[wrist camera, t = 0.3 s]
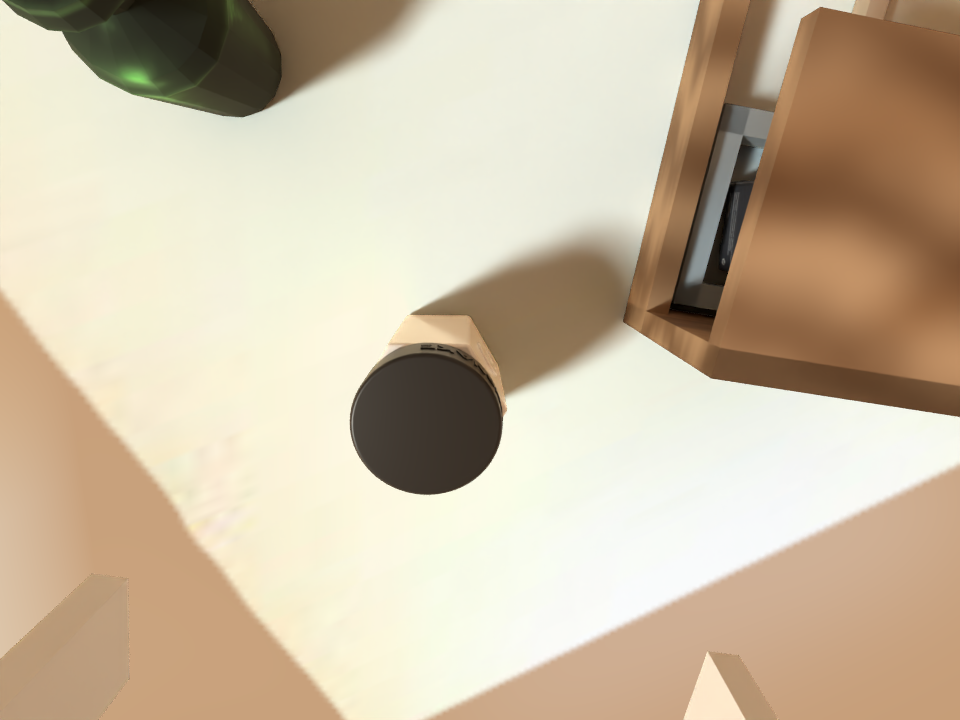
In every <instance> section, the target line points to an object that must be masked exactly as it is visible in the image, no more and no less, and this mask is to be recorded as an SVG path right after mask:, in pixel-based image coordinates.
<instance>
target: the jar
mask: <svg viewBox="0 0 960 720" xmlns="http://www.w3.org/2000/svg"><path fill="white" fill-rule="evenodd" d="M506 411H507V405H506V400H505V396H504V391H503V386H502V381H501V376H500V371H499V366H498V364H497V362H496V361H495V359H494V357H493V355H492V354H491V352H490V350H489V349H488V347H487V345H486V343H485V342H484V340H483V338H482V336H481V335H480V333H479V331H478V329H477V328H476V326H475V324H474V323H473V321H472V319H471V317H470V316H468V315H407V316H406V318H405V319H404V321H403V322H402V324H401V325H400V327H399V328H398V330H397V331H396V333H395V334H394V336H393V337H392V339H391V340H390V342H389V343H388V345H387V346H386V348H385V350H384V352H383V353H382V355H381V357H380V359H379V361H378V362H377V364H376V365H375V366H374V367H373V368H372V370H371V371H370V372H369V374H368V375H367V377H366V378H365V380H364V381H363V383H362V384H361V386H360V388H359V389H358V391H357V393H356V395H355V398H354V400H353V404H352V407H351V413H350V431H351V437H352V441H353V444H354V447H355V449H356V451H357V454H358V456H359V457H360V459H361V460H362V462H363V463H364V464H365V466H366V467H367V468H368V469H369V470H370V471H371V472H372V473H373V474H374V475H375V476H376V477H377V478H379V479H380V480H381V481H383V482H385V483H386V484H388V485H390V486H392V487H394V488H396V489H399V490H402V491H405V492H409V493H414V494H422V495H432V494H441V493H446V492H450V491H453V490H456V489H458V488H461V487H463V486H465V485H466V484H468V483H470V482H471V481H473V480H474V479H476V478H477V477H478V476H479V475H480V474H481V473H482V472H483V471H484V470H485V469H486V468H487V467H488V465H489V464H490V463H491V461H492V459H493V458H494V456H495V454H496V452H497V449H498V447H499V444H500V440H501V435H502V426H503V422H502V421H503V416H504V415H505V413H506Z"/></svg>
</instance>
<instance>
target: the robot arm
mask: <svg viewBox="0 0 960 720" xmlns="http://www.w3.org/2000/svg"><path fill="white" fill-rule="evenodd" d="M128 597H129V595H128V578H123V577H114V576H106V575H99V574H91V575H90V576H89V577H88V578H87V579H85V580H84V582H82V583H81V584H80V585H79V586H78V587H77V588H76V589H75V590H74V591H73V592H71V594H69V595H68V596H67V597H66V598H65V599H64V600H63V601H62V602H61V603H60V604H59V605H58V606H56V607H55V608H54V609H53V610H52V611H51V612H50V613H49V614H48V615H47V616H46V617H45V618H44V619H43V620H42V621H40V622H39V623H38V624H37V625H36V626H35V627H34V628H33V629H32V630H31V631H30V632H29V633H27V635H25V637H23V638H22V639H21V640H20V641H19V642H18V643H17V644H16V645H15V646H14V647H12V648H11V649H10V650H9V651H8V652H7V653H6V654H5V655H4V656H3V657H2V658H1V659H0V720H99V719H100V718H101V716H102V715H103V714H104V712H105V711H106V710H107V708H108V707H109V705H110V704H111V703H112V702H113V700H114V699H115V697H116V696H117V695H118V693H119V692H120V691H121V689H122V688H123V687H124V685H125V684H126V683H127V681H128V680H129V677H130V675H129V598H128ZM684 720H779V719H778V717H777V716H776V714H775V713H774V711H773V710H772V708H771V706H770V704H769V703H768V701H767V700H766V698H765V696H764V695H763V693H762V692H761V690H760V688H759V687H758V685H757V684H756V682H755V680H754V679H753V677H752V676H751V674H750V672H749V671H748V669H747V667H746V666H745V664H744V663H743V661H742V659H741V658H740V656H739V655H732V654H723V653H716V652H707V655H706V658H705V661H704V664H703V666H702V669H701V672H700V675H699V678H698V680H697V683H696V686H695V689H694V692H693V694H692V697H691V700H690V703H689V706H688V709H687V711H686V714H685V717H684Z"/></svg>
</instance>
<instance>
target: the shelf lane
mask: <svg viewBox="0 0 960 720" xmlns="http://www.w3.org/2000/svg"><path fill="white" fill-rule="evenodd" d="M749 4H750V0H700V3H699V7H698V11H697V16H696V20H695V24H694V28H693V32H692V36H691V41H690V45H689V49H688V53H687V57H686V61H685V66H684V70H683V74H682V78H681V82H680V86H679V91H678V95H677V99H676V103H675V107H674V111H673V116H672V120H671V124H670V128H669V132H668V136H667V140H666V145H665V149H664V153H663V157H662V161H661V165H660V170H659V174H658V178H657V182H656V186H655V190H654V195H653V199H652V203H651V207H650V211H649V215H648V220H647V224H646V228H645V232H644V236H643V240H642V245H641V249H640V253H639V257H638V261H637V265H636V270H635V274H634V278H633V282H632V286H631V290H630V295H629V299H628V303H627V307H626V311H625V315H624V320H623V322H624V323H626V324H627V325H629V326H631V327H632V328H634V329H635V330H637V331H638V332H640V333H641V334H643V335H645V336H646V337H648V338H649V339H651V340H652V341H654V342H655V343H657V344H658V345H660V346H662V347H663V348H665V349H666V350H668V351H669V352H671V353H672V354H674V355H676V356H677V357H679V358H680V359H682V360H683V361H685V362H686V363H688V364H690V365H691V366H693V367H694V368H696V369H697V370H699V371H700V372H702V373H704V374H705V375H707V376H708V377H710V378H712V379H719V380H725V381H731V382H738V383H744V384H751V385H757V386H764V387H770V388H777V389H783V390H790V391H796V392H803V393H809V394H815V395H822V396H828V397H835V398H841V399H848V400H854V401H861V402H867V403H874V404H880V405H886V406H893V407H899V408H906V409H912V410H919V411H925V412H932V413H938V414H945V415H951V416H958V417H960V35H955V34H950V33H945V32H940V31H935V30H930V29H926V28H921V27H916V26H911V25H906V24H901V23H896V22H891V21H887V20H882V19H877V18H872V17H867V16H862V15H857V14H852V13H847V12H843V11H838V10H833V9H828V8H823V7H820V8H818V9H816V10H815V11H813V12H811V13H810V14H808V15H807V16H805V17H803V18H802V19H801V21H800V25H799V28H798V32H797V35H796V39H795V42H794V46H793V49H792V53H791V56H790V59H789V63H788V66H787V70H786V73H785V77H784V80H783V84H782V87H781V91H780V94H779V98H778V101H777V105H776V108H775V112H774V115H773V119H772V122H771V126H770V129H769V133H768V136H767V140H766V143H765V146H764V150H763V153H762V157H761V160H760V164H759V167H758V171H757V174H756V178H755V181H754V185H753V188H752V192H751V195H750V199H749V202H748V206H747V209H746V213H745V216H744V220H743V223H742V226H741V230H740V233H739V237H738V240H737V244H736V247H735V251H734V254H733V258H732V261H731V265H730V268H729V272H728V275H727V279H726V282H725V286H724V289H723V293H722V296H721V300H720V303H719V307H718V310H717V313H716V316H712V315H706V314H699V313H693V312H687V311H681V310H675V309H670V305H671V301H672V297H673V294H674V290H675V286H676V282H677V278H678V275H679V271H680V267H681V263H682V259H683V256H684V252H685V248H686V244H687V240H688V236H689V233H690V229H691V225H692V221H693V217H694V214H695V210H696V206H697V202H698V198H699V195H700V191H701V187H702V183H703V179H704V176H705V172H706V168H707V164H708V160H709V156H710V153H711V149H712V145H713V141H714V137H715V134H716V130H717V126H718V122H719V118H720V115H721V111H722V107H723V103H724V99H725V96H726V92H727V88H728V84H729V80H730V76H731V73H732V69H733V65H734V61H735V57H736V54H737V50H738V46H739V42H740V38H741V35H742V31H743V27H744V23H745V19H746V16H747V12H748V8H749Z"/></svg>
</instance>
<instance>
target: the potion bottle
mask: <svg viewBox="0 0 960 720" xmlns="http://www.w3.org/2000/svg"><path fill="white" fill-rule="evenodd" d="M3 1H4V2H5V3H6V4H7V5H8V6H9V7H10V8H11V9H12V10H13V11H14V12H15V13H16V14H17V15H19V16H21V17H23V18H25V19H27V20H29V21H31V22H33V23H35V24H37V25H39V26H41V27H43V28H45V29H47V30H53V31H62V32H63V34H64V36H65V38H66V40H67V42H68V43H69V45H70V47H71V49H72V50H73V51H74V52H75V53H76V54H77V55H78V56H79V57H80V58H81V59H82V60H83V62H84V63H85V64H86V65H87V66H88V67H89V68H90V69H91V70H92V71H93V72H94V73H95V74H96V75H97V76H98V77H99V78H100V79H102V80H104V81H106V82H108V83H110V84H112V85H114V86H116V87H118V88H120V89H122V90H124V91H126V92H128V93H130V94H133V95H137V96H141V97H145V98H150V99H154V100H158V101H162V102H167V103H171V104H175V105H179V106H183V107H188V108H192V109H196V110H200V111H205V112H209V113H213V114H217V115H222V116H232V117H245V116H248V115H251V114H253V113H256V112H259V111H261V110H262V109H263V108H264V107H265V106H266V105H267V104H268V103H269V102H270V101H271V100H272V98H273V97H274V96H275V93H276V91H277V88H278V85H279V82H280V79H281V54H280V52H279V49H278V46H277V44H276V41H275V39H274V36H273V34H272V32H271V31H270V29H269V28H268V27H267V25H266V24H265V23H264V21H263V20H262V19H261V17H260V16H259V15H258V13H257V12H256V11H255V9H254V8H253V7H252V5H251V4H250V3H249V1H248V0H3Z"/></svg>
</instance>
